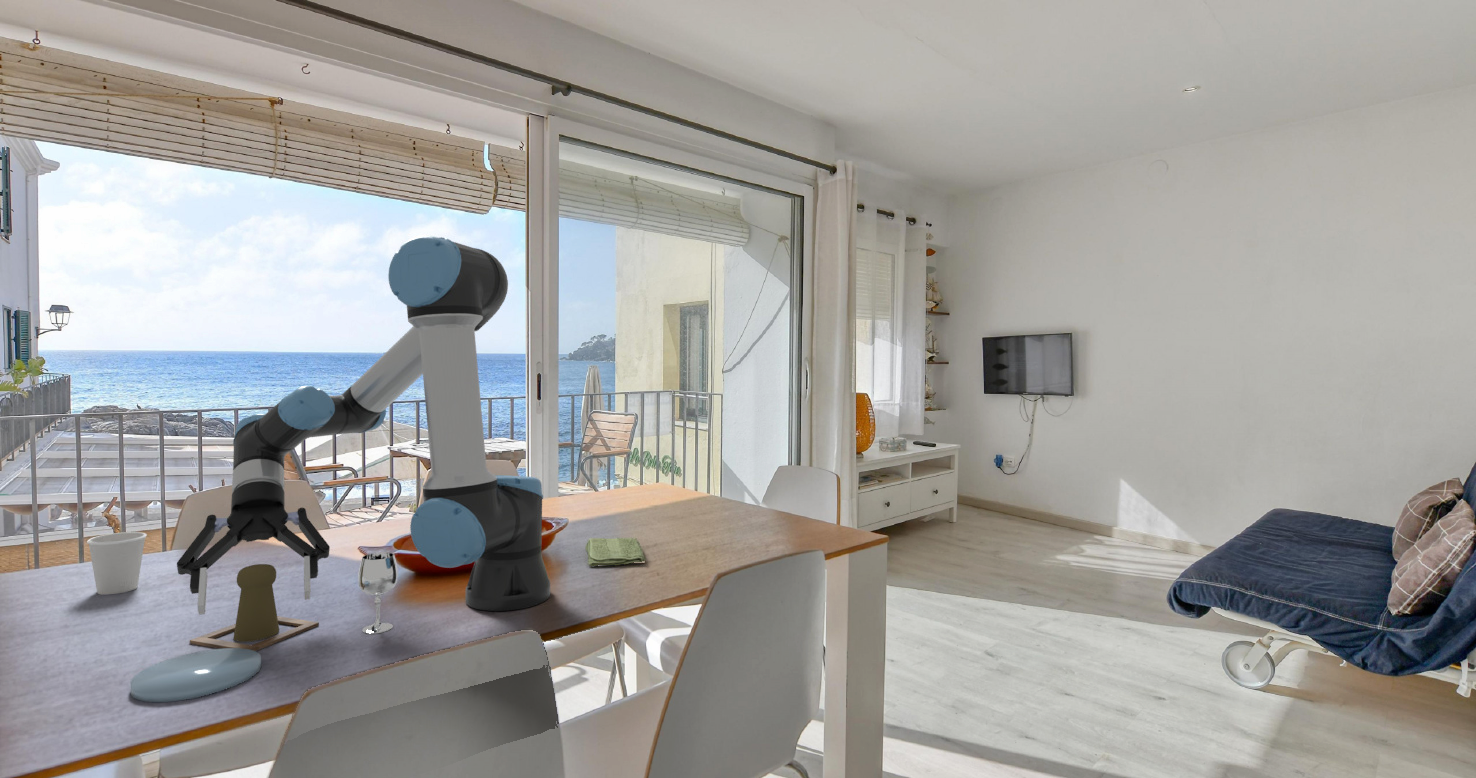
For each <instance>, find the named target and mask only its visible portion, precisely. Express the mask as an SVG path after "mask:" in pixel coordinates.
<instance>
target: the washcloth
mask: <svg viewBox="0 0 1476 778" xmlns="http://www.w3.org/2000/svg"><path fill="white" fill-rule="evenodd" d="M584 548H585V551H586V552H587V560H588V561H587V565H588V566H590V567H592V566H598V565H615V566H621V565H620V564H624V565H630V564H629V563H634V562H642V561H645V560H647V558H646V557H645V555H644V551H643V548H642V546H641V545H640V541H639V540H638V539H637V538H634V537H625V538H623V537H621V538H620V537H617V538H606V537H601V538H599V537H596V538H595V537H590V538H589V539H588V540H587V543H586V544H585V546H584ZM598 567H599V566H598Z"/></svg>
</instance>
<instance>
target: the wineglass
mask: <svg viewBox="0 0 1476 778" xmlns="http://www.w3.org/2000/svg"><path fill="white" fill-rule="evenodd" d="M398 576H399V570H398V564H397V560H396V555H395V554H394V553H392V552H382V551H381V552H373V553H368V554H364V555H363V556H362V557H361V561H360V564H359V569H358V574H357V582H358V587H359V589H360V591H362V592H363V593H364V594H367V595H371V596H375V598H374V605H375V609H376V613H375V614H376V615H375V616H376V617H375V622H374V623H373V624H370V625H367V626H365V627H363V628H362V633H364V634H368V635H369V634H371V635H372V634H374V635H375V634H381V633H385V632H389V631H391V630H392V629H393V627H394V625H393V624H391V623H389V622H381V619H380V608H381V604H382V598H381V595H384V594H386V593H388V592H390V591H391V590H393V589H394V588H395V586H396V585H397V582H398Z"/></svg>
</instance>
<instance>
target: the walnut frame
mask: <svg viewBox="0 0 1476 778" xmlns="http://www.w3.org/2000/svg"><path fill="white" fill-rule="evenodd" d="M277 618H278V625H279V624H280V625H284V624H286V625H285V626H291V625H293V626H292V627H294V628H292V629H288V630H287V631H283V632H282V633H278V634H276V635H274V636H271V637H269V638H266V639H262V640H260V641H259V642H256V643H253V644H246V643H241V642H240V643H239V642H235V641H233V642H232V641H227V640H222V639H217V638H218V637H221V636H223V635H224V636H225V635H227V634H230V633H233V632H234V631H235V625H236V623H234V624H230V625H228V626H226V627H223V628H220V629H217V630H215V631H211V632H209V633H206V634H205V633H204V634H203V635H201V636H198V637H194V638H192V639H189V644H191V645H197V646H202V647H209V648H214V649H225V648H242V649H249V650H253V651H256V652H258V651H260V650H262V649H264V648H268V647H270V646H272V645H274V644H277V643H279V642H282V641H284V640H286V639H290V638H291V636H292V637H294V636H296V634H297V635H299V634H302V633H304V632H306V631H309V630H312V629H314V628H316V627H318V625H319V626H320V622H319V621H312V620H305V619H299V618H292V617H286V616H285V617H284V616H278V615H277ZM297 626H298V627H297ZM301 632H302V633H301Z"/></svg>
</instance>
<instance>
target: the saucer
mask: <svg viewBox="0 0 1476 778" xmlns="http://www.w3.org/2000/svg"><path fill="white" fill-rule="evenodd" d="M261 667H262V655H261V654H260V653H259V652H258V651H253V650H249V649H242V648H225V649H219V648H214V649H208V650H201V651H197V652H191V653H188V654H183V655H179V656H175V657H172V658H169V659H166V660H163V661H160V662H158V663H155V664H152V665H150V666H149V667H147V668H145V669H143V670H141V671H140V672H138V673H136V675H134V677H132V679H131V681H130V695H131V697H132V698H134V699H135V700H136V701H137V700H138V701H141V702H146V703H167V702H168V703H169V702H170V703H171V702H179V701H186V699H187V700H191V699H196V698H201V696H202V697H205V696H204V695H206V696H209V694H210V695H213V694H212V693H214V692H217V693H219V692H218V691H220V692H222V691H221V690H223V691H225V690H224V689H226V688H229V689H231V688H233V686H234V687H236V686H238V685H237V684H239V683H241V684H243V683H244V682H243V681H245V682H246V681H248V680H250V679H251V678H252V676H253V677H254V676H255V675H257V674H258V673H259V671H260V670H261ZM257 672H258V673H257ZM256 673H257V674H256ZM242 682H243V683H242ZM235 685H236V686H235ZM239 685H240V684H239ZM230 687H231V688H230ZM226 690H227V689H226ZM214 694H215V693H214Z"/></svg>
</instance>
